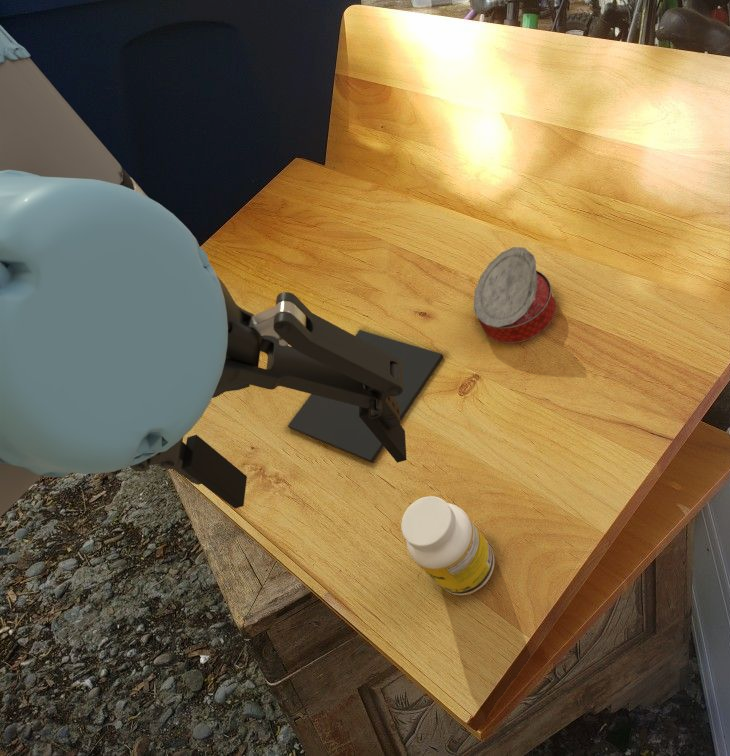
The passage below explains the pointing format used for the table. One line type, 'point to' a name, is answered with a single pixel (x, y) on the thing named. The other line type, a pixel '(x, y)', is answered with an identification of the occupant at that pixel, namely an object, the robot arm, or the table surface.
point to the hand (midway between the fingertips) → (320, 470)
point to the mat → (342, 419)
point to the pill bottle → (447, 545)
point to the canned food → (514, 298)
